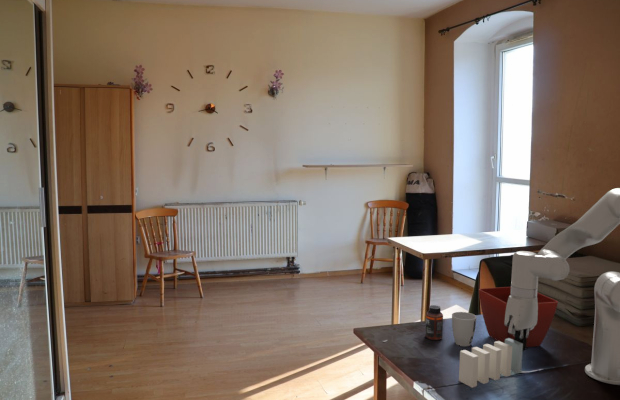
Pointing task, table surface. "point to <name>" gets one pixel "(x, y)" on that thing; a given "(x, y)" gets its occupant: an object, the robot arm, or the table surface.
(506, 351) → the domino
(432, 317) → the supplement bottle
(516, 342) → the domino
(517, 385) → the table surface
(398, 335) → the table surface
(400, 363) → the table surface
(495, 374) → the domino
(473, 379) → the domino
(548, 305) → the plant pot
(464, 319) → the cup
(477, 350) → the domino
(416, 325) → the table surface
